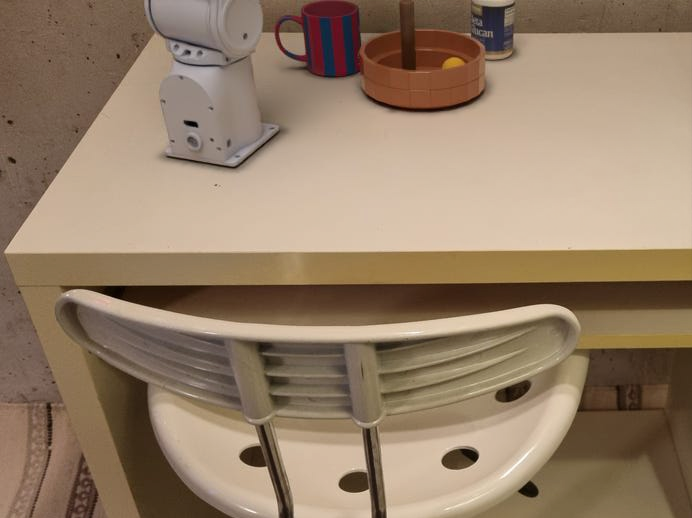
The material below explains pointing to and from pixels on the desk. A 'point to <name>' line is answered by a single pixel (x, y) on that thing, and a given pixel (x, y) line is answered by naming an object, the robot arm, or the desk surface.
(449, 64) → the ball
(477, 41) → the bowl
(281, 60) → the desk surface
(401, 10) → the stick
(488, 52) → the pill bottle
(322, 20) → the mug
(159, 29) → the robot arm
